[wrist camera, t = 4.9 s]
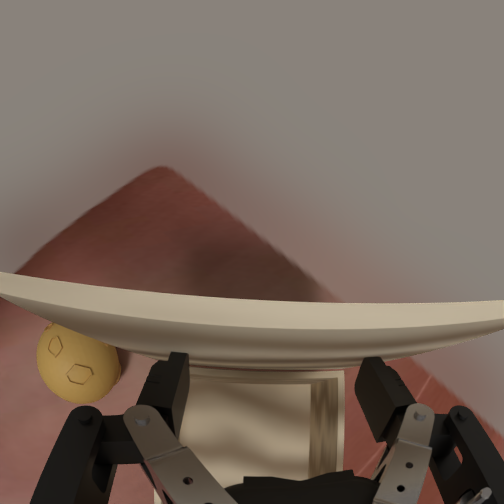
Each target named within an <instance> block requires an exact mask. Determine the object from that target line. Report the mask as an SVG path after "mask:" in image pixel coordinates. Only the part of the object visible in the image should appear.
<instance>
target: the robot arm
mask: <svg viewBox="0 0 504 504" xmlns="http://www.w3.org/2000/svg"><path fill="white" fill-rule="evenodd" d="M189 387H190V371H189V354H188V353H181V352H172V351H171V353H170V356H169V358H168V361H164V360H159V361H158V362H156V363H155V364H154V365H153V366H152V367H151V370H150V372H149V376H148V377H147V379H146V382H145V384H144V386H143V389H142V391H141V394H140V396H139V398H138V401H137V403H136V405H135V406H132V407H130V408H129V409H127V410H126V412H125V413H124V414H122V415H111V416H102V414H101V412H100V411H99V410H98V409H96V408H95V407H92V406H80V407H77V408H75V409H74V410H72V411H71V413H70V414H69V416H68V418H67V420H66V422H65V424H64V426H63V428H62V430H61V432H60V434H59V436H58V439H57V441H56V443H55V445H54V447H53V449H52V451H51V454H50V456H49V458H48V460H47V463H46V465H45V467H44V469H43V472H42V474H41V476H40V479H39V481H38V484H37V486H36V489H35V491H34V494H33V496H32V499H31V501H30V504H108V501H109V497H110V492H111V488H112V484H113V480H114V477H115V473H116V469H117V465H118V464H138V463H139V464H140V466H141V468H142V470H143V471H144V473H145V475H146V476H147V478H148V480H149V481H150V483H151V484H152V486H153V488H154V489H155V491H156V492H157V494H158V496H159V497H160V499H161V501H162V503H163V504H416V503H417V501H418V498H419V495H420V492H421V488H422V485H423V482H424V479H425V475H426V472H427V468H428V465H429V467H430V470H431V472H432V474H433V477H434V479H435V481H436V484H437V486H438V489H439V491H440V494H441V496H442V499H443V501H444V504H504V461H503V459H502V458H501V456H500V454H499V453H498V451H497V449H496V448H495V446H494V444H493V443H492V441H491V440H490V438H489V437H488V435H487V433H486V432H485V430H484V429H483V427H482V426H481V424H480V423H479V421H478V420H477V418H476V417H475V415H474V414H473V412H472V411H471V410H470V409H468V408H467V407H464V406H454V407H452V408H451V410H450V411H449V413H448V414H434V412H433V410H432V409H431V408H430V407H428V406H426V405H424V404H419V403H417V402H416V401H415V399H414V398H413V396H412V395H411V393H410V391H409V390H408V388H407V387H406V386H405V384H404V382H403V381H402V380H401V378H400V376H399V375H398V373H397V372H396V371H395V370H394V369H392V368H391V367H390V366H386V365H385V363H384V362H383V360H382V359H381V357H365V358H364V359H363V361H362V364H361V367H360V370H359V373H358V376H357V379H356V382H355V394H356V396H357V399H358V401H359V403H360V406H361V408H362V410H363V412H364V415H365V417H366V419H367V422H368V424H369V426H370V429H371V431H372V433H373V436H374V438H375V440H376V443H378V442H383V441H386V443H387V445H386V447H385V448H384V451H383V453H382V455H381V458H380V460H379V462H378V464H377V466H376V468H375V471H374V473H373V475H372V477H371V478H370V479H368V478H364V477H358V476H354V473H353V470H345V471H338V472H330V473H325V474H322V475H319V476H316V477H313V478H310V479H306V480H302V481H298V480H291V479H284V478H278V477H273V476H244V477H243V483H240V484H235V485H231V486H228V487H226V488H223V487H222V486H221V485H220V484H219V483H218V482H217V481H216V479H215V478H214V477H213V476H212V475H211V474H210V472H209V471H208V470H207V469H206V468H205V467H204V465H203V464H202V463H201V462H200V460H199V459H198V458H197V457H196V455H195V454H194V453H193V452H192V450H191V449H190V448H188V447H187V446H185V447H183V446H182V445H181V444H180V442H179V441H178V439H179V434H180V429H181V425H182V420H183V415H184V411H185V406H186V402H187V397H188V393H189ZM456 446H457V447H458V449H459V451H460V452H461V454H462V457H463V461H462V464H461V463H460V461H459V459H458V457H457V455H456V453H455V451H454V448H455V447H456Z"/></svg>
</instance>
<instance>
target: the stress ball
mask: <svg viewBox="0 0 504 504" xmlns="http://www.w3.org/2000/svg"><path fill="white" fill-rule="evenodd" d="M37 365H38V369H39V372H40V374H41V377H42V379H43V380H44V382H45V383H46V385H47V386H48V387H49V388H50V389H51V390H52V391H53V392H54V393H55V394H56V395H57V396H59V397H61V398H62V399H64V400H66V401H69V402H72V403H77V404H86V403H92V402H95V401H97V400H100V399H101V398H103V397H104V396H105V395H107V394H108V393H109V391H110V390H111V389H112V387H113V386H114V385H116V384H117V382H118V381H119V378H120V374H121V365H120V363H119V360H118V355H117V351H116V348H115V346H112V345H110V344H107V343H104V342H101V341H99V340H96V339H93V338H90V337H88V336H85V335H83V334H80V333H78V332H75V331H73V330H70V329H68V328H65V327H63V326H61V325H58V324H56V323H54V322H53V323H50V324H49V325H48V326H47V327H46V328H45V329H44V332H43V334H42V336H41V337H40V340H39V343H38V346H37Z"/></svg>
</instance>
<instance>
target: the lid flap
mask: <svg viewBox="0 0 504 504" xmlns="http://www.w3.org/2000/svg"><path fill="white" fill-rule="evenodd" d="M0 297H2V298H4V299H6V300H7V301H9V302H11V303H13V304H15V305H17V306H19V307H21V308H23V309H25V310H27V311H30V312H32V313H34V314H36V315H38V316H40V317H42V318H45V319H47V320H49V321H51V322H54V323H56V324H58V325H61V326H63V327H65V328H68V329H70V330H73V331H75V332H78V333H80V334H83V335H85V336H88V337H90V338H93V339H96V340H99V341H101V342H104V343H107V344H110V345H112V346H115V347H118V348H121V349H124V350H127V351H130V352H133V353H136V354H140V355H143V356H146V357H149V358H153V359H156V360H164V361H168V358H169V356H170V353H171V351H172V352H181V353H188V354H189V364H191V365H202V366H214V367H228V368H247V369H281V370H307V369H341V368H350V367H356V366H361V364H362V361H363V359H364V358H365V357H381V359H382V360H383V362H384V361H389V360H394V359H399V358H404V357H408V356H413V355H417V354H421V353H425V352H429V351H433V350H437V349H441V348H445V347H448V346H452V345H455V344H459V343H462V342H466V341H469V340H472V339H475V338H479V337H481V336H485V335H488V334H491V333H493V332H496V331H499V330H502V329H504V300H498V301H478V302H452V303H405V304H403V303H401V304H400V303H399V304H373V303H369V304H368V303H367V304H366V303H318V302H290V301H268V300H249V299H233V298H218V297H204V296H191V295H179V294H168V293H157V292H147V291H137V290H127V289H118V288H110V287H101V286H93V285H85V284H77V283H70V282H63V281H56V280H49V279H42V278H35V277H29V276H23V275H17V274H11V273H5V272H0Z"/></svg>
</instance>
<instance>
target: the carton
mask: <svg viewBox="0 0 504 504" xmlns="http://www.w3.org/2000/svg"><path fill="white" fill-rule="evenodd" d="M189 371H190V387H189V393H188V397H187V402H186V406H185V411H184V415H183V420H182V425H181V429H180V434H179V439H178V441H179V442H180V444H181V445H182V446H183V447H185V446H187V447H188V448H190V449H191V450H192V452H193V453H194V454H195V455H196V457H197V458H198V459H199V460H200V462H201V463H202V464H203V465H204V467H205V468H206V469H207V470H208V471H209V472H210V474H211V475H212V476H213V477H214V478H215V479H216V481H217V482H218V483H219V484H220V485H221V486H222V487H223V488H226V487H228V486H231V485H235V484H240V483H243V477H244V476H273V477H278V478H284V479H291V480H298V481H302V480H306V479H310V478H313V477H316V476H319V475H322V474H325V473H330V472H338V471H343V453H344V411H345V397H344V371H320V372H265V371H240V370H223V369H210V368H198V367H189ZM154 504H163V503H162V501H161V499H160V497H159V496H158V494H157V492H156V491H155V489H154Z"/></svg>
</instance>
